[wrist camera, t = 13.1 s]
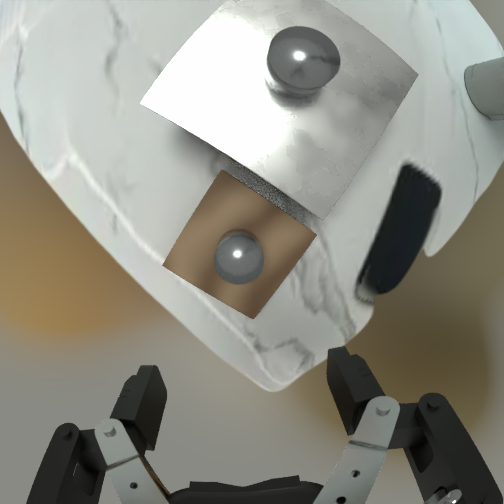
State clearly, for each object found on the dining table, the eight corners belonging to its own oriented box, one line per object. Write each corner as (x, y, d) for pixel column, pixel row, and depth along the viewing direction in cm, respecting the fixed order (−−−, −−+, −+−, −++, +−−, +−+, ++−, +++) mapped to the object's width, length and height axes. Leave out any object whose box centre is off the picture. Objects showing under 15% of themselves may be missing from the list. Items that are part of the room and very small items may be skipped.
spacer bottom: (335, 73, 19) (353, 58, 15) (299, 111, 20) (312, 100, 16) (289, 36, 17) (298, 15, 14) (250, 72, 18) (253, 54, 15)
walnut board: (313, 232, 33) (316, 234, 31) (252, 313, 36) (253, 319, 34) (222, 169, 30) (221, 169, 29) (165, 261, 33) (162, 265, 32)
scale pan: (402, 81, 22) (418, 74, 18) (313, 214, 25) (323, 220, 22) (260, -14, 18) (263, -31, 15) (151, 110, 22) (140, 103, 19)
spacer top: (269, 244, 31) (274, 254, 28) (244, 278, 32) (245, 293, 29) (232, 219, 30) (232, 227, 27) (208, 256, 31) (204, 267, 28)
